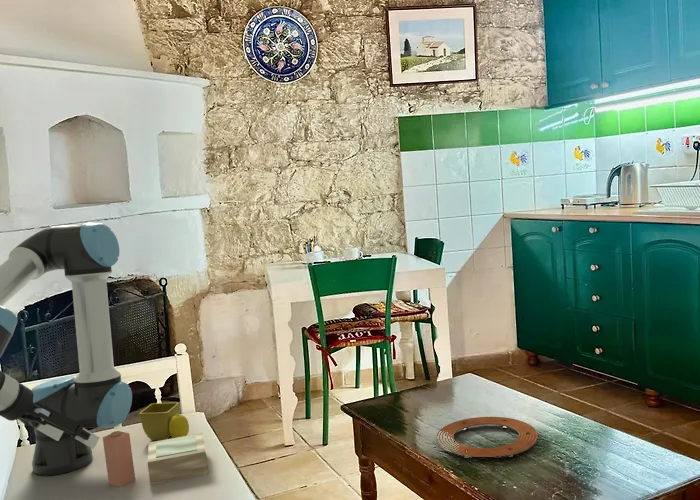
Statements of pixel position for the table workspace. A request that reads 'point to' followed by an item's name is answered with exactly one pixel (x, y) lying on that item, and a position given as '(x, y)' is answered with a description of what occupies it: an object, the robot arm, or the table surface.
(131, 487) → the table surface
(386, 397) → the table surface
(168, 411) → the flower pot
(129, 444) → the pink knobbed block
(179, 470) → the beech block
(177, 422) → the lemon
